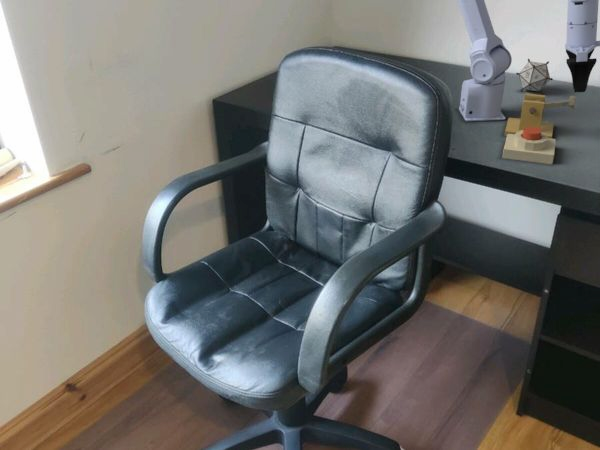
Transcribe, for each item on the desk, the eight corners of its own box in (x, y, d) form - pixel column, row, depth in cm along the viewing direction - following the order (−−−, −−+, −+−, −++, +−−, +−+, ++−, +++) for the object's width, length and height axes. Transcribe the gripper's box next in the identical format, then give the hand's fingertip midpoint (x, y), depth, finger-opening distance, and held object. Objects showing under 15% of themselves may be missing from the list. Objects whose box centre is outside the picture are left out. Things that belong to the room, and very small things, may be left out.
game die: (535, 103, 164) (564, 73, 160) (529, 102, 157) (559, 71, 153) (511, 81, 167) (539, 51, 162) (503, 79, 160) (532, 48, 155)
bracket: (552, 127, 143) (559, 94, 139) (551, 141, 137) (557, 107, 132) (508, 122, 146) (512, 89, 142) (504, 135, 140) (509, 102, 136)
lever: (575, 102, 137) (575, 92, 136) (574, 112, 133) (574, 101, 132) (528, 107, 141) (527, 97, 140) (525, 116, 137) (525, 106, 136)
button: (540, 135, 131) (542, 127, 130) (539, 142, 128) (541, 134, 127) (522, 133, 132) (524, 125, 131) (521, 140, 130) (522, 132, 129)
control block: (554, 148, 134) (557, 131, 132) (552, 164, 128) (555, 147, 125) (506, 142, 137) (508, 125, 135) (502, 158, 131) (504, 141, 129)
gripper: (606, 27, 120) (601, 95, 126) (601, 12, 132) (597, 75, 138) (566, 31, 123) (564, 97, 129) (565, 16, 134) (563, 77, 141)
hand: (579, 86), depth 134 cm, fingers open, 7 cm apart
